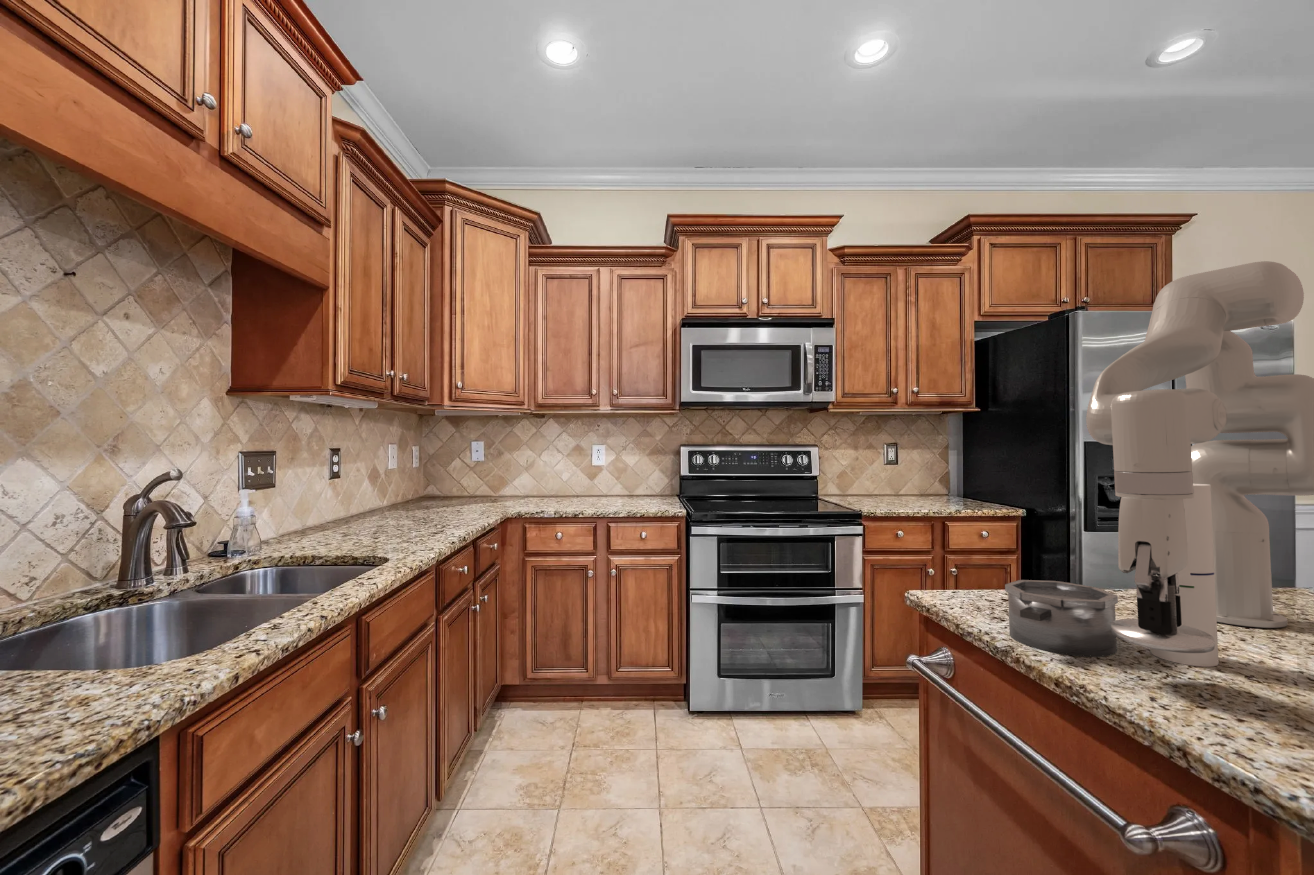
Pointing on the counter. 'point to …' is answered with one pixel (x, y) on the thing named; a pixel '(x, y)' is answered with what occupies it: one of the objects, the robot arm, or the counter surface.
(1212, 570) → the cylindrical container
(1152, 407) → the robot arm
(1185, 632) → the lid
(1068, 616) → the pot
